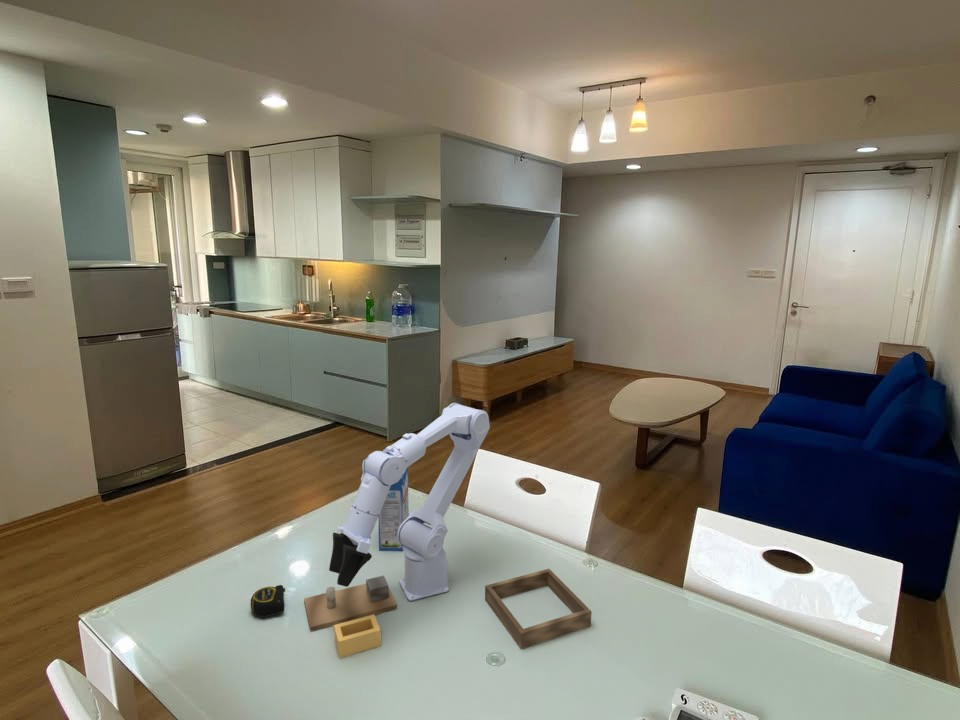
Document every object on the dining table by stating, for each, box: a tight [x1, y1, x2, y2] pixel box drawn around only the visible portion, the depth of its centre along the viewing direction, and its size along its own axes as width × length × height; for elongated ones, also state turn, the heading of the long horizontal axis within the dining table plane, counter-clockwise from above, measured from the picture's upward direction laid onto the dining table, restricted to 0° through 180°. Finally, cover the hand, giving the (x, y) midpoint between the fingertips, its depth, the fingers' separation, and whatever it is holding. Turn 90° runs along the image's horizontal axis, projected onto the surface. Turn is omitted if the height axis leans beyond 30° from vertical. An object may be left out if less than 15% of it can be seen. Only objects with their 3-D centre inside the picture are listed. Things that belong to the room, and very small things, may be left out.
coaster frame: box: [484, 568, 592, 650], centre depth 116 cm, size 16×16×4 cm
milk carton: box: [377, 466, 410, 552], centre depth 141 cm, size 10×6×20 cm, turn 179°
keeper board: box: [303, 575, 398, 632], centre depth 117 cm, size 18×10×5 cm, turn 115°
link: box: [333, 614, 382, 659], centre depth 106 cm, size 8×5×4 cm, turn 115°
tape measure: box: [250, 584, 286, 618], centre depth 115 cm, size 7×7×4 cm
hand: (338, 578), depth 105 cm, fingers open, 7 cm apart
